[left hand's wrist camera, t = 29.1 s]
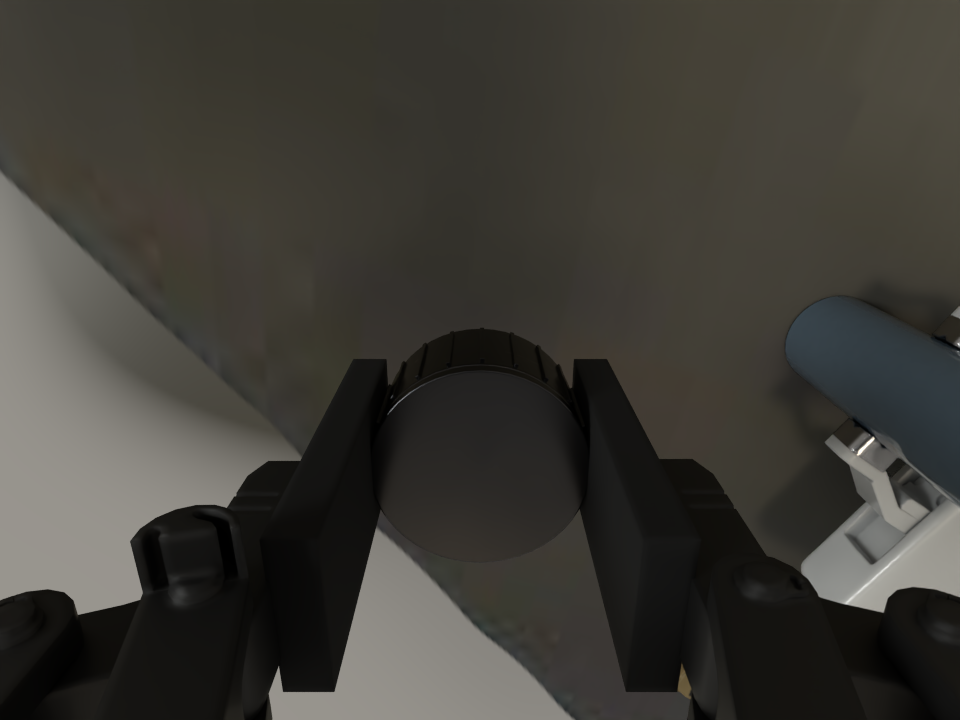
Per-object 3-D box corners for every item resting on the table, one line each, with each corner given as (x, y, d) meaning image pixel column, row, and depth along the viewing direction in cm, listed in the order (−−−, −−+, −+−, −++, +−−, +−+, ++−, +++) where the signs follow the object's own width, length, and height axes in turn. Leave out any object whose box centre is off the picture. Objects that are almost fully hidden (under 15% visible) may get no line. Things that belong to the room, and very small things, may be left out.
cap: (582, 487, 15) (600, 553, 13) (402, 507, 16) (388, 576, 13) (568, 314, 14) (586, 354, 11) (367, 339, 14) (344, 383, 12)
